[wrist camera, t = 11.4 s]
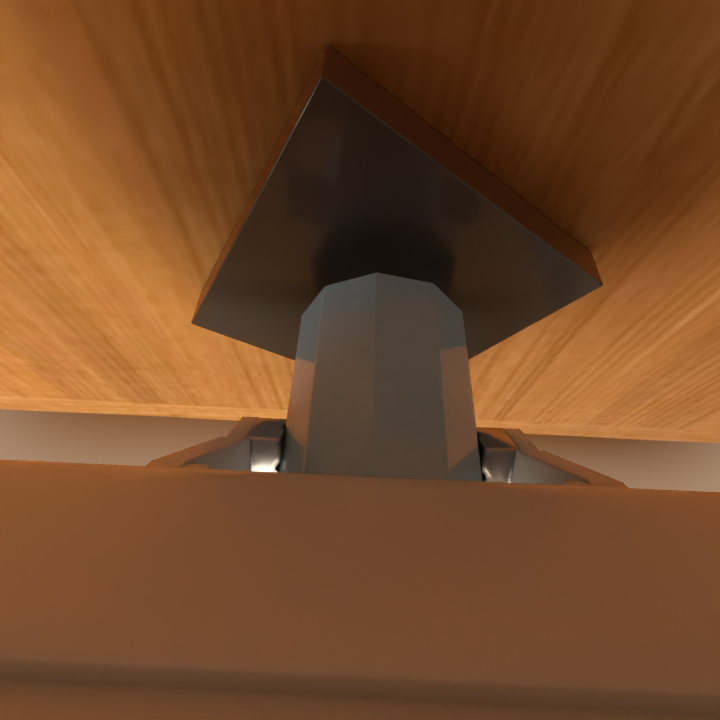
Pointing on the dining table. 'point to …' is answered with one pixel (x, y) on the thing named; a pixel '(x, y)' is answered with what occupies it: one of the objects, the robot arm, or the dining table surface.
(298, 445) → the hollow octagonal tube
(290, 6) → the dining table surface
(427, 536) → the robot arm
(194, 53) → the dining table surface
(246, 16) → the dining table surface
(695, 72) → the dining table surface
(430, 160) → the stand
